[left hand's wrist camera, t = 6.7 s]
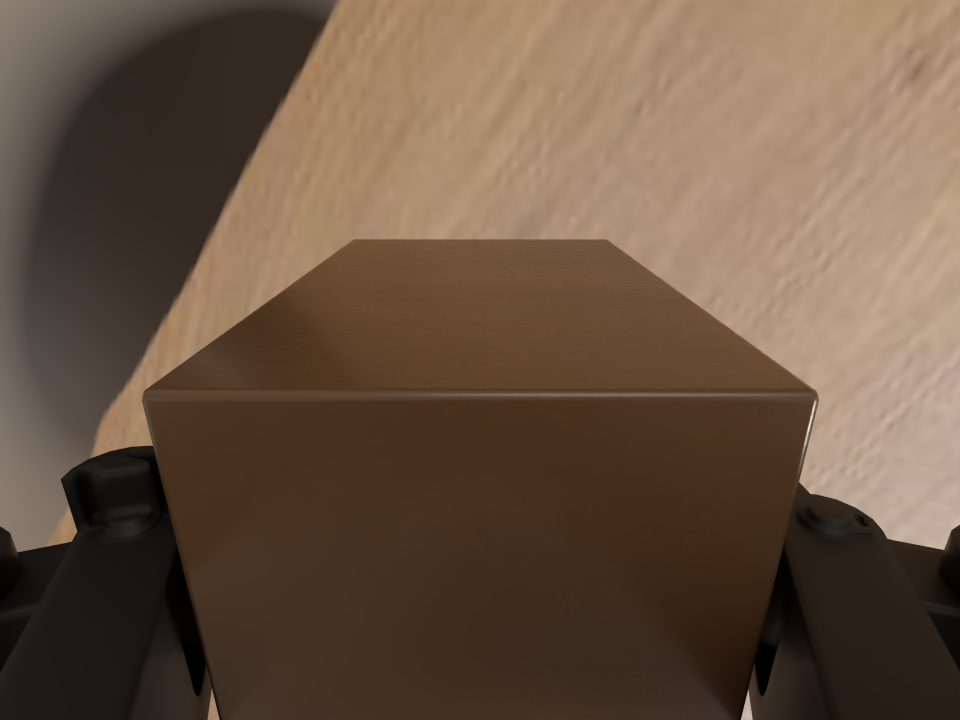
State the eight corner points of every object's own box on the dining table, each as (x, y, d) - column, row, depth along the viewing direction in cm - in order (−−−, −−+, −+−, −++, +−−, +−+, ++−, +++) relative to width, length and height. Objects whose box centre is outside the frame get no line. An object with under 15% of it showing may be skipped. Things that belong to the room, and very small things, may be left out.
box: (352, 239, 13) (135, 391, 5) (608, 239, 13) (826, 392, 5) (397, 792, 21) (341, 1229, 12) (562, 792, 21) (618, 1229, 12)
